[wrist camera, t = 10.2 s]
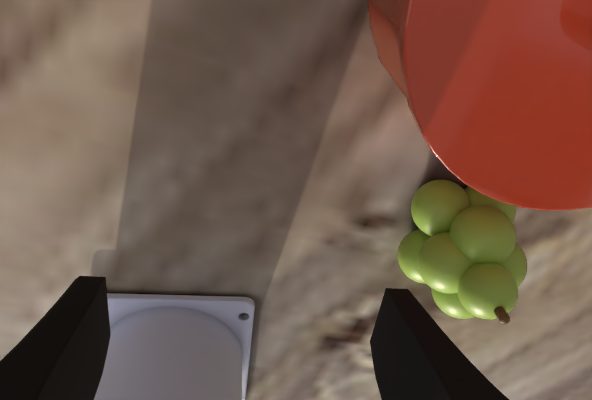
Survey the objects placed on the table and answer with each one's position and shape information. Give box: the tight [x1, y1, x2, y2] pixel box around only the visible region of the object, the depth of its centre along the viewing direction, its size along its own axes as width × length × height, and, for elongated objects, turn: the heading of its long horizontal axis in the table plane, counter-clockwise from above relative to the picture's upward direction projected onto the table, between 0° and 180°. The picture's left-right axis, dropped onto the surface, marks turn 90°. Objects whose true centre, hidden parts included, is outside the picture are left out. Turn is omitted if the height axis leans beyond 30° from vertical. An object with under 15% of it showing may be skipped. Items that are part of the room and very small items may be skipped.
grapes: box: [398, 180, 527, 324], centre depth 21 cm, size 5×4×7 cm
